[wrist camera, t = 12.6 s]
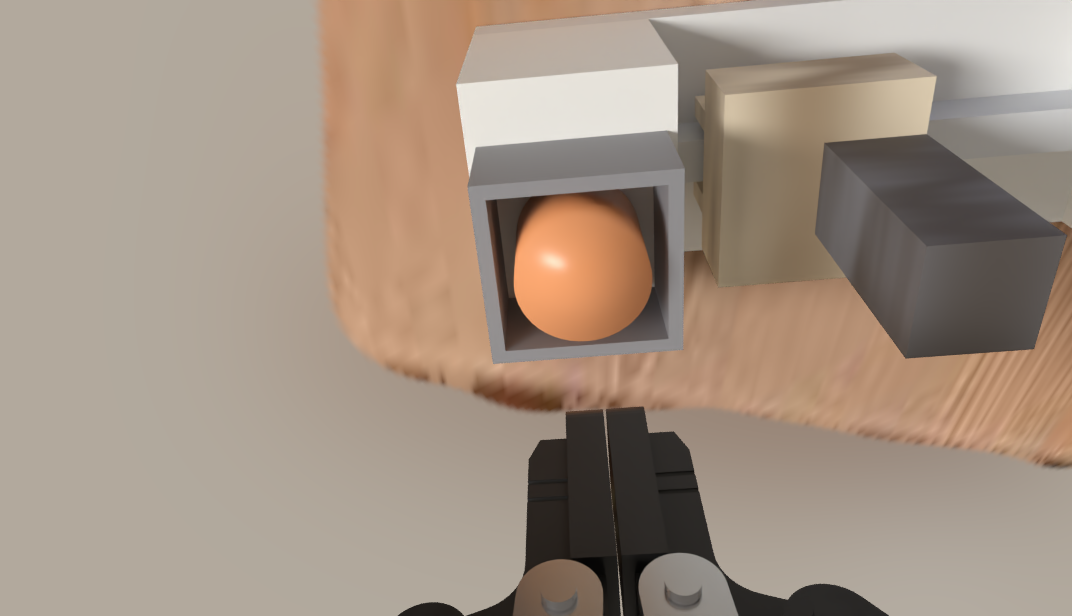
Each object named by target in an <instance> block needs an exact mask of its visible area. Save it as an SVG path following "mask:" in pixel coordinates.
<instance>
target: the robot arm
mask: <svg viewBox="0 0 1072 616" xmlns="http://www.w3.org/2000/svg"><path fill="white" fill-rule="evenodd" d="M606 419H607V435H608V452H609V467H610V478H609V468H608V457H607V447H606V436H605V426H604V416H603V409H601V410H586V411H570V412H566V439H553V440H541V441H540V442H539V444H538V445H537V447H536V448H535V450H534V452H533V453H532V455H531V457H530V458H529V469H528V503H527V533H526V562H525V571H524V574H523V577H522V579H521V581H520V582H519V585H518V586H517V588H516V589H515V590H514V591H513V592H512V593H511V594H510V595H509V596H508V597H507V598H506V599H504V600H503V601H501V602H500V603H498V604H496V605H494V606H492V607H489V608H487V609H484V610H481V611H478V612H475V613H473V614H470V615H467V616H621V613H620V596H619V579H618V566H619V576H620V587H621V596H622V607H623V616H889V615H887V614H886V613H884V612H883V611H881V610H880V609H879V608H877V607H875V606H874V605H873V604H871V603H870V602H868V601H867V600H866V599H864V598H863V597H861V596H859V595H858V594H856V593H854V592H853V591H850V590H848V589H846V588H843V587H840V586H836V585H830V584H814V585H809V586H805V587H803V588H801V589H799V590H797V591H796V592H795V593H793V595H791V597H790V598H789V599H788V600H785V599H781V598H777V597H772V596H768V595H764V594H760V593H757V592H753V591H750V590H748V589H746V588H744V587H742V586H740V585H738V584H736V583H735V582H734V581H732V580H731V579H730V578H729V577H728V576H727V575H726V574H725V573H724V572H723V571H722V570H721V568H720V567H719V565H718V563H717V562H716V560H715V556H714V553H713V549H712V544H711V540H710V536H709V532H708V528H707V523H706V519H705V515H704V510H703V506H702V503H701V498H700V493H699V491H698V485H697V481H696V476H695V474H694V468H693V464H692V459H691V455H690V451H689V449H688V447H687V446H686V445H685V444H684V443H683V442H682V441H681V439H680V438H679V437H678V436H677V435H676V434H675V432H659V433H648V429H647V422H646V416H645V411H644V407H628V408H613V409H606ZM610 482H611V488H610ZM611 494H612V498H611ZM612 505H613V508H612ZM613 515H614V519H613ZM614 525H615V529H614ZM615 536H616V539H615ZM616 546H617V549H616ZM617 556H618V562H617ZM398 616H464V615H463V614H462V613H461V612H460V611H458V610H457V609H456V608H454V607H452V606H450V605H447V604H444V603H438V602H437V603H436V602H434V603H433V602H431V603H423V604H419V605H416V606H413V607H411V608H409V609H407V610H405V611H404V612H402V613H400V614H399V615H398Z"/></svg>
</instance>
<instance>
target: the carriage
mask: <svg viewBox="0 0 1072 616" xmlns="http://www.w3.org/2000/svg"><path fill="white" fill-rule="evenodd" d="M936 78H937V76H936V75H934V74H932V73H930V72H928V71H927V70H925V69H923V68H921V67H920V66H918V65H916V64H914V63H912V62H911V61H909V60H907V59H905V58H903V57H902V56H900V55H898V54H896V53H885V54H874V55H863V56H852V57H841V58H830V59H819V60H808V61H797V62H786V63H775V64H763V65H752V66H741V67H730V68H719V69H708V70H706V72H705V95H703V96H695V117H696V119H697V120H698V122H699V124H700V125H701V127H702V129H703V130H704V161H703V181H700V182H694V191H693V194H694V196H695V199H696V201H697V203H698V205H699V207H700V210H701V212H702V250H703V252H704V254H705V257H706V259H707V262H708V264H709V266H710V269H711V271H712V274H713V276H714V278H715V281H716V283H717V286H718V287H731V286H744V285H757V284H770V283H783V282H796V281H809V280H822V279H835V278H847V279H848V280H849V281H850V283H851V284H852V286H853V287H854V288H855V290H856V291H857V292H858V294H859V295H860V296H861V298H862V299H863V301H864V302H865V303H866V305H867V306H868V307H869V309H870V310H871V312H872V313H873V314H874V316H875V317H876V318H877V320H878V321H879V323H880V324H881V325H882V327H883V328H884V329H885V331H886V332H887V334H888V335H889V336H890V338H891V339H892V340H893V342H894V343H895V344H896V346H897V347H898V349H899V350H900V351H901V353H902V354H903V355H904V357H905V358H919V357H933V356H946V355H960V354H974V353H988V352H1002V351H1015V350H1029V349H1034V347H1035V344H1036V340H1037V337H1038V333H1039V330H1040V326H1041V323H1042V320H1043V316H1044V313H1045V309H1046V306H1047V302H1048V299H1049V295H1050V292H1051V289H1052V285H1053V282H1054V278H1055V275H1056V271H1057V268H1058V264H1059V261H1060V258H1061V254H1062V251H1063V247H1064V244H1065V240H1066V237H1067V235H1066V234H1065V233H1063V232H1062V231H1060V230H1059V229H1058V228H1056V227H1055V226H1053V225H1052V224H1051V223H1049V222H1048V221H1047V220H1045V219H1044V218H1042V217H1041V216H1040V215H1038V214H1037V213H1035V212H1034V211H1033V210H1031V209H1030V208H1029V207H1027V206H1026V205H1024V204H1023V203H1022V202H1020V201H1019V200H1017V199H1016V198H1015V197H1013V196H1012V195H1011V194H1009V193H1008V192H1006V191H1005V190H1004V189H1002V188H1001V187H999V186H998V185H997V184H995V183H994V182H992V181H991V180H990V179H988V178H987V177H986V176H984V175H983V174H981V173H980V172H979V171H977V170H976V169H974V168H973V167H972V166H970V165H969V164H968V163H966V162H965V161H963V160H962V159H961V158H959V157H958V156H956V155H955V154H954V153H952V152H951V151H950V150H948V149H947V148H945V147H944V146H943V145H941V144H940V143H938V142H937V141H936V140H934V139H933V138H932V137H930V136H929V135H927V130H928V124H929V118H930V113H931V107H932V101H933V95H934V90H935V84H936Z"/></svg>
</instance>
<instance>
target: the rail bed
mask: <svg viewBox="0 0 1072 616" xmlns="http://www.w3.org/2000/svg"><path fill="white" fill-rule="evenodd" d="M885 53H896V54H898V55H900V56H902V57H903V58H905V59H907V60H909V61H911V62H912V63H914V64H916V65H918V66H920V67H921V68H923V69H925V70H927V71H928V72H930V73H932V74H934V75H936V76H937V78H936V84H935V90H934V95H933V101H932V107H931V113H930V118H929V124H928V130H927V135H929V136H930V137H932V138H933V139H934V140H936V141H937V142H938V143H940V144H941V145H943V146H944V147H945V148H947V149H948V150H950V151H951V152H952V153H954V154H955V155H956V156H958V157H959V158H961V159H962V160H963V161H965V162H966V163H968V164H969V165H970V166H972V167H973V168H974V169H976V170H977V171H979V172H980V173H981V174H983V175H984V176H986V177H987V178H988V179H990V180H991V181H992V182H994V183H995V184H997V185H998V186H999V187H1001V188H1002V189H1004V190H1005V191H1006V192H1008V193H1009V194H1011V195H1012V196H1013V197H1015V198H1016V199H1017V200H1019V201H1020V202H1022V203H1023V204H1024V205H1026V206H1027V207H1029V208H1030V209H1031V210H1033V211H1034V212H1035V213H1037V214H1038V215H1040V216H1041V217H1042V218H1044V219H1045V220H1047V221H1048V222H1061V221H1062V222H1063V223H1065V224H1066V225H1068V226H1069V227H1070V228H1072V0H753V1H743V2H732V3H722V4H711V5H700V6H690V7H679V8H669V9H658V10H648V11H637V12H626V13H616V14H605V15H595V16H584V17H574V18H563V19H552V20H542V21H531V22H521V23H510V24H500V25H489V26H478V27H476V29H475V32H474V35H473V37H472V40H471V43H470V46H469V49H468V52H467V55H466V58H465V60H464V63H463V66H462V69H461V72H460V75H459V78H458V81H457V83H456V86H457V93H458V100H459V107H460V114H461V121H462V128H463V135H464V143H465V150H466V157H467V164H468V171H469V182H468V193H469V200H470V207H471V214H472V221H473V228H474V235H475V242H476V249H477V256H478V263H479V269H480V276H481V283H482V290H483V297H484V304H485V311H486V318H487V325H488V332H489V339H490V346H491V353H492V360H493V364H497V363H511V362H524V361H538V360H552V359H565V358H579V357H592V356H606V355H619V354H633V353H646V352H660V351H673V350H683V304H684V252H685V251H698V250H702V212H701V210H700V207H699V205H698V203H697V201H696V199H695V196H694V194H693V191H694V182H700V181H703V161H704V130H703V129H702V127H701V125H700V124H699V122H698V120H697V119H696V117H695V96H703V95H705V72H706V70H708V69H719V68H730V67H741V66H752V65H763V64H775V63H786V62H797V61H808V60H819V59H830V58H841V57H852V56H863V55H874V54H885ZM614 189H619V190H620V191H621V192H622V193H623V194H625V195H626V197H627V198H628V199H629V200H630V202H631V204H632V205H633V207H634V209H635V212H636V214H637V217H638V221H639V225H640V228H641V232H642V236H643V239H644V243H645V246H646V250H647V254H648V257H649V261H650V265H651V269H652V288H651V293H650V296H649V299H648V301H647V303H646V305H645V307H644V309H643V310H642V312H641V313H640V314H639V316H638V317H637V318H636V319H635V320H634V321H633V322H632V323H631V324H629V325H628V326H627V327H625V328H624V329H622V330H621V331H619V332H617V333H615V334H613V335H611V336H608V337H605V338H602V339H598V340H592V341H569V340H564V339H560V338H557V337H554V336H552V335H549V334H547V333H545V332H544V331H542V330H540V329H539V328H537V327H536V326H535V325H534V324H532V323H531V322H530V320H529V319H528V318H527V317H526V316H525V315H524V313H523V312H522V310H521V308H520V306H519V304H518V302H517V299H516V296H515V291H514V267H515V248H516V231H517V223H518V219H519V216H520V213H521V211H522V209H523V207H524V206H525V204H526V202H527V201H528V200H529V199H530V197H531V196H542V195H554V194H566V193H578V192H590V191H602V190H614Z"/></svg>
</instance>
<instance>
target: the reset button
mask: <svg viewBox="0 0 1072 616" xmlns="http://www.w3.org/2000/svg"><path fill="white" fill-rule="evenodd" d="M651 288H652V269H651V265H650V261H649V257H648V254H647V250H646V246H645V243H644V239H643V236H642V232H641V228H640V225H639V221H638V217H637V214H636V212H635V209H634V207H633V205H632V204H631V202H630V200H629V199H628V198H627V197H626V195H625V194H623V193H622V192H621V191H620V190H619V189H614V190H602V191H590V192H578V193H566V194H554V195H542V196H531V197H530V199H529V200H528V201H527V202H526V204H525V206H524V207H523V209H522V211H521V213H520V216H519V219H518V223H517V231H516V248H515V267H514V291H515V296H516V299H517V302H518V304H519V306H520V308H521V310H522V312H523V313H524V315H525V316H526V317H527V318H528V319H529V320H530V322H531V323H532V324H534V325H535V326H536V327H537V328H539V329H540V330H542V331H544V332H545V333H547V334H549V335H552V336H554V337H557V338H560V339H564V340H569V341H592V340H598V339H602V338H605V337H608V336H611V335H613V334H615V333H617V332H619V331H621V330H622V329H624V328H625V327H627V326H628V325H629V324H631V323H632V322H633V321H634V320H635V319H636V318H637V317H638V316H639V314H640V313H641V312H642V310H643V309H644V307H645V305H646V303H647V301H648V299H649V296H650V293H651Z"/></svg>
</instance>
